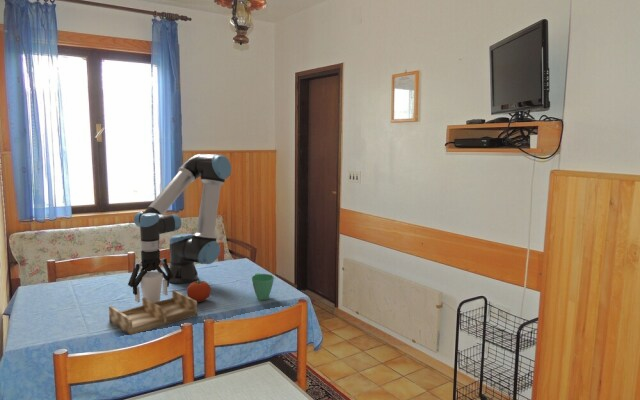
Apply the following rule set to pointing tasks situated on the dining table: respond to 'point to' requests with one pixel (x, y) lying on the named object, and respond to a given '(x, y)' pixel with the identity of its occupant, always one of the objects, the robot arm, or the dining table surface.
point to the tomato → (198, 291)
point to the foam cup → (152, 285)
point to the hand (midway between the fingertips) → (151, 297)
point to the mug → (262, 285)
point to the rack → (153, 313)
